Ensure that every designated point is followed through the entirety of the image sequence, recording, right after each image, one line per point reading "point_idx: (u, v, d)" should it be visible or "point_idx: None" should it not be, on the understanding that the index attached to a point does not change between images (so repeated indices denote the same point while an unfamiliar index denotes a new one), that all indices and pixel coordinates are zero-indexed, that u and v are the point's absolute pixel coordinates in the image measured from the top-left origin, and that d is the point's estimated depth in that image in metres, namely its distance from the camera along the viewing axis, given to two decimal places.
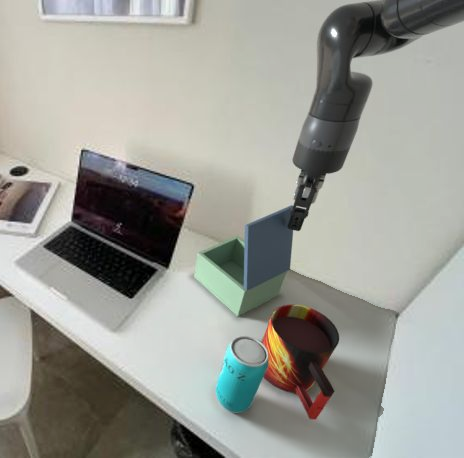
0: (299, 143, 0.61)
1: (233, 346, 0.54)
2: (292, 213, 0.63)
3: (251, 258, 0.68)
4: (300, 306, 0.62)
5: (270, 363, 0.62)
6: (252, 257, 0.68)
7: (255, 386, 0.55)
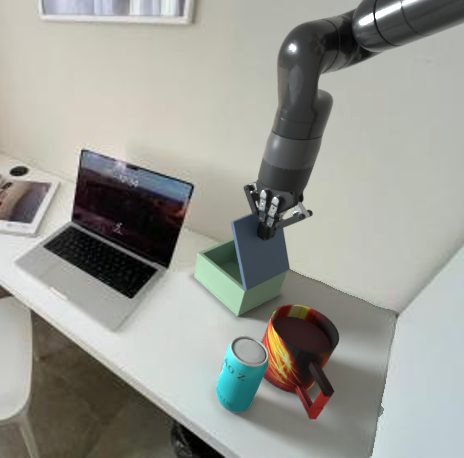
0: (281, 169, 0.57)
1: (233, 346, 0.54)
2: None
3: (244, 255, 0.69)
4: (300, 306, 0.62)
5: (270, 363, 0.62)
6: (245, 254, 0.69)
7: (255, 386, 0.55)
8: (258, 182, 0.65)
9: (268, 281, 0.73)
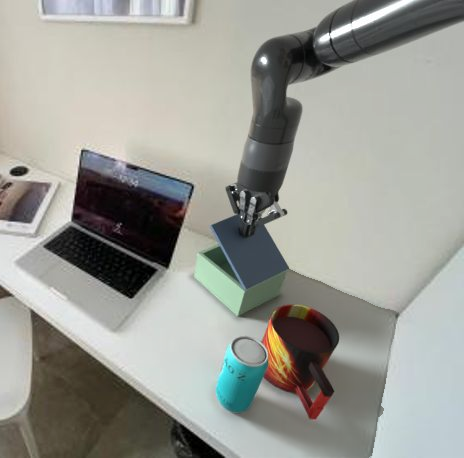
0: (257, 171, 0.61)
1: (233, 346, 0.54)
2: None
3: (232, 254, 0.72)
4: (300, 306, 0.62)
5: (270, 363, 0.62)
6: (232, 254, 0.72)
7: (255, 386, 0.55)
8: (238, 183, 0.69)
9: (268, 281, 0.73)
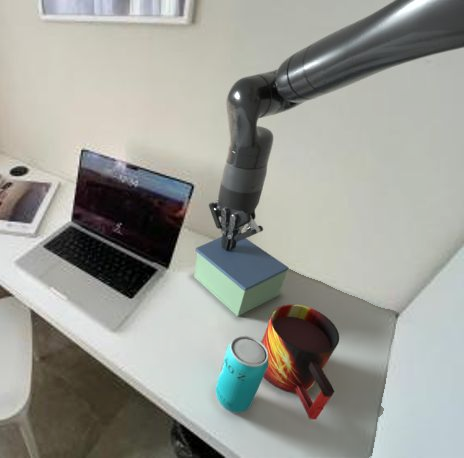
0: (235, 192, 0.68)
1: (233, 346, 0.54)
2: (239, 239, 0.74)
3: (222, 265, 0.76)
4: (300, 306, 0.62)
5: (270, 363, 0.62)
6: (222, 264, 0.76)
7: (255, 386, 0.55)
8: None
9: (268, 281, 0.73)
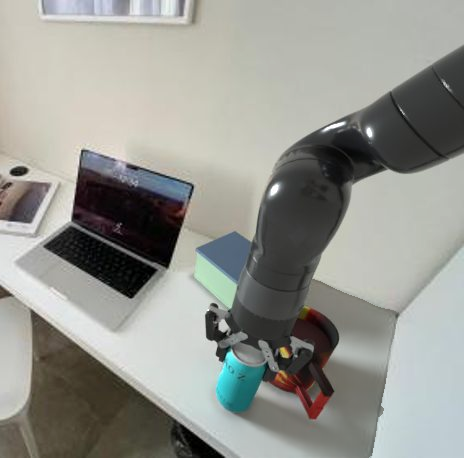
0: (276, 321, 0.43)
1: (233, 346, 0.54)
2: None
3: (222, 265, 0.76)
4: None
5: None
6: (222, 264, 0.76)
7: (255, 386, 0.55)
8: (231, 320, 0.51)
9: None
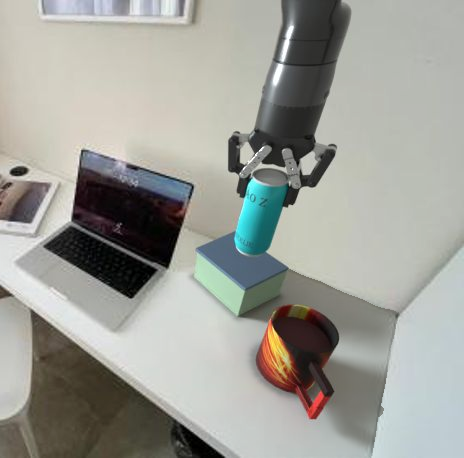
0: (303, 108, 0.45)
1: (255, 175, 0.56)
2: (317, 183, 0.51)
3: (222, 265, 0.76)
4: (300, 306, 0.62)
5: (270, 363, 0.62)
6: (222, 264, 0.76)
7: (276, 214, 0.56)
8: (255, 137, 0.52)
9: (268, 281, 0.73)
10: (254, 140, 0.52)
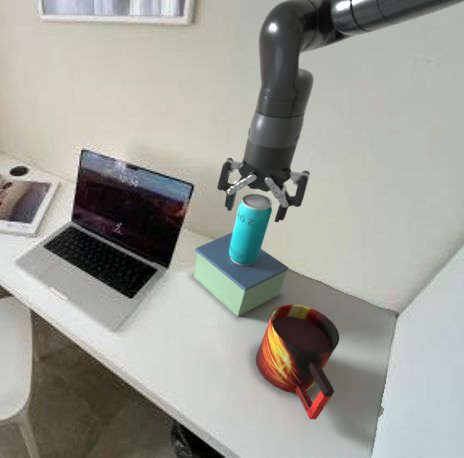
0: (279, 148, 0.58)
1: (244, 200, 0.69)
2: (301, 203, 0.63)
3: (222, 265, 0.76)
4: (300, 306, 0.62)
5: (270, 363, 0.62)
6: (222, 264, 0.76)
7: (261, 232, 0.69)
8: (244, 167, 0.65)
9: (268, 281, 0.73)
10: (243, 170, 0.65)
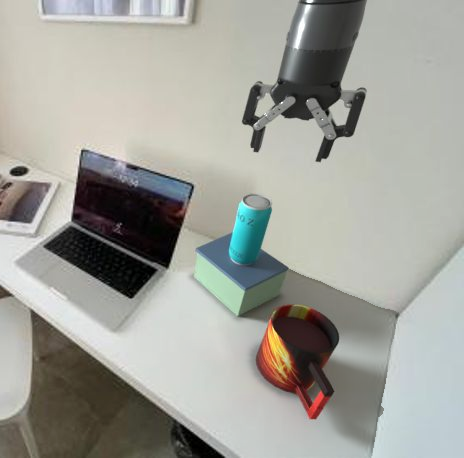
0: (330, 51, 0.43)
1: (244, 200, 0.69)
2: None
3: (222, 265, 0.76)
4: (300, 306, 0.62)
5: (270, 363, 0.62)
6: (222, 264, 0.76)
7: (261, 232, 0.69)
8: (279, 89, 0.51)
9: (268, 281, 0.73)
10: (277, 92, 0.51)
